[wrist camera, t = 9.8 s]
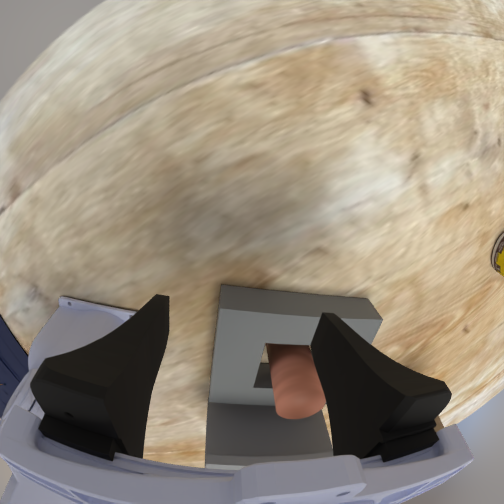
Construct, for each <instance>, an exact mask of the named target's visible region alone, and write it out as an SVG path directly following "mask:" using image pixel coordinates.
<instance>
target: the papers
mask: <svg viewBox="0 0 504 504" xmlns="http://www.w3.org/2000/svg"><path fill="white" fill-rule="evenodd" d="M28 372H29V367H28V356H27V355H26V354H25V352H24V351H23V350H22V348H21V347H20V345H19V344H18V343H17V341H16V340H15V338H14V337H13V335H12V334H11V332H10V331H9V329H8V328H7V326H6V325H5V323H4V322H3V320H2V318H1V317H0V418H2V416H3V412H4V410H5V408H6V406H7V404H8V402H9V400H10V398H11V396H12V395H13V393H14V391H15V390H16V388H17V387H18V385H19V384H20V382H21V381H22V379H23V378H24V377H25V375H26V374H27V373H28Z"/></svg>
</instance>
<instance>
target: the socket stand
mask: <svg viewBox="0 0 504 504" xmlns="http://www.w3.org/2000/svg"><path fill="white" fill-rule="evenodd" d="M322 312H326V313H334V314H336V315H337V316H338V317H339V318H341V319H342V320H343V321H344V322H345V323H346V324H347V325H349V326H350V327H351V328H352V329H353V330H354V331H355V332H356V333H358V334H359V335H360V336H361V337H362V338H363V339H365V340H366V341H367V342H368V343H370V344H371V343H372V342H373V340H374V338H375V336H376V333H377V331H378V329H379V327H380V325H381V323H382V321H383V319H382V317H381V316H380V315H379V313H378V312H377V310H376V309H375V308H374V306H373V305H372V303H371V302H370V301H369V299H366V298H352V297H339V296H327V295H316V294H305V293H294V292H284V291H274V290H265V289H255V288H246V287H238V286H229V285H221V291H220V299H219V307H218V315H217V323H216V331H215V340H214V349H213V357H212V366H211V376H210V391H209V398H208V407H207V426H206V447H205V468H208V469H222V470H240V469H241V468H243V467H245V466H249V465H252V464H256V463H265V462H277V461H295V460H307V459H317V458H325V457H333V448H332V445H331V441H330V437H329V434H328V430H327V427H326V423H325V420H324V416H323V413H322V409H321V410H320V411H319V412H317V413H315V414H314V415H311V416H309V417H306V418H302V419H286V418H283V417H281V416H279V415H278V414H277V412H276V407H275V400H274V393H273V387H272V380H271V374H270V367H269V364H268V363H260V361H261V357H262V354H263V350H264V346H265V343H274V344H292V345H311V342H312V339H313V336H314V334H315V331H316V328H317V326H318V323H319V320H320V317H321V314H322ZM311 355H312V350H311ZM312 358H313V356H312ZM325 404H327V403H325Z"/></svg>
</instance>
